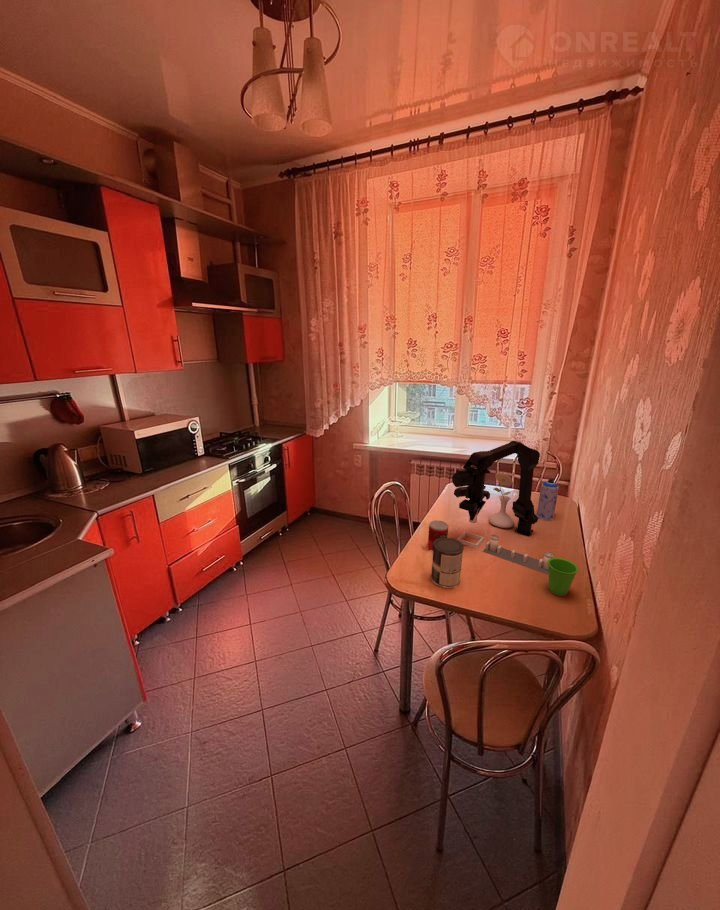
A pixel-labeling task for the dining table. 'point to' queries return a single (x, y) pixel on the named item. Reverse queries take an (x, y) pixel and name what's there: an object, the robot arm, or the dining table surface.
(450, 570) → the coffee can
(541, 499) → the aerosol can
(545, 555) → the cylinder
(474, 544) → the tray
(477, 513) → the cylinder
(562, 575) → the cup
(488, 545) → the fuse block
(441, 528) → the canned food
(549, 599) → the dining table surface
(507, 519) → the flower in vase
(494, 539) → the cylinder
